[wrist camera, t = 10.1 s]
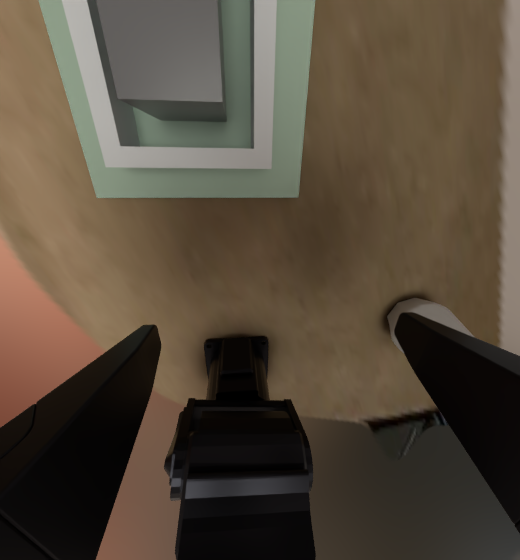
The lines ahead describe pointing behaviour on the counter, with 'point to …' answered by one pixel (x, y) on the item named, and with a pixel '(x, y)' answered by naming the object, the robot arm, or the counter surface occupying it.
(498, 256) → the counter surface
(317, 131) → the counter surface
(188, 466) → the robot arm
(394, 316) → the salt shaker
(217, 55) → the chute block
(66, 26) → the deck plate
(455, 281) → the counter surface
